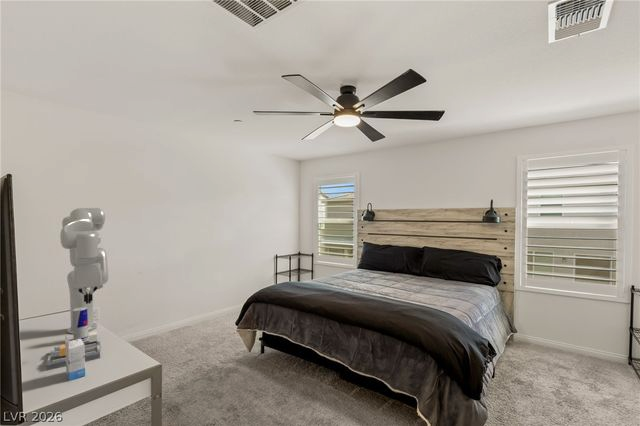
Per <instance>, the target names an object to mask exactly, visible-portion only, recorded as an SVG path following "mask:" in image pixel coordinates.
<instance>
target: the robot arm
mask: <svg viewBox="0 0 640 426" xmlns="http://www.w3.org/2000/svg"><path fill="white" fill-rule="evenodd" d="M105 222H106V213H105V212H104V210H103V209H101V208H100V207H99V208H98V207H79V208H75V209H73V210H71V212H70V214H69V215H68V216H66V217H64V218H63V219H62V222H61V225H62V228H61V231H60V235H59V236H60V237H59V238H60V244H61V247H62V248H63V249H66V250H67V249H68V250H69V260H70V261H69V262H70V265H71V266H72V267H74V268H73V270H71V271H69V273H68V274H67V279H66V280H67V285H68V290H69V291H68V292H69V304H70V305H69V306H70V307H69V308H70V327H69V328H68V329H66V330H67V331H66V333H68V334H72V335H73V310H74V309H76V308H81V307H87V314H88V332H91V331H92V330H94V329H96V328H97V327H98V323H95V322H94V295H93V294H94V293H95V292H96V291H97V290H99V289H102V288H104V285H105V284H107V283H108V281H109V266H108V255H107V252H106V250H105V249H104V248H102V247H98V246H99V244H100V243H101V240H102V239H101V238H102V237H101V234H100V233H99V232H98V231H101V230H102V229H103V228H104V227H103V226H104V224H105ZM88 288H90V289H88Z"/></svg>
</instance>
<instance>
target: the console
mask: <svg viewBox="0 0 640 426" xmlns="http://www.w3.org/2000/svg"><path fill="white" fill-rule="evenodd" d="M83 343H84V347H85V362H90V361H94V360H98V359H100V358H101V338H100V337H97V341H95V343H91V342H89V340H83ZM60 347H61V345H60V346H52V347H51V350H50V355H48V357H47V362H46V368H45V369H46V371H51V370H55V369H59V368H64V367H66V357H63V356H60Z"/></svg>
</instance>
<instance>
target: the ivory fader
mask: <svg viewBox="0 0 640 426" xmlns="http://www.w3.org/2000/svg"><path fill="white" fill-rule="evenodd" d="M97 338H98V331H97V330H96V331H92V332H91V331H90V332H88V341H89V342H91V343H95V341H97Z"/></svg>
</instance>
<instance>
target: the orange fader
mask: <svg viewBox="0 0 640 426" xmlns="http://www.w3.org/2000/svg"><path fill="white" fill-rule="evenodd" d="M60 346H61V347H60V356H63V357H66V345H65V344H62V345H60Z"/></svg>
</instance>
